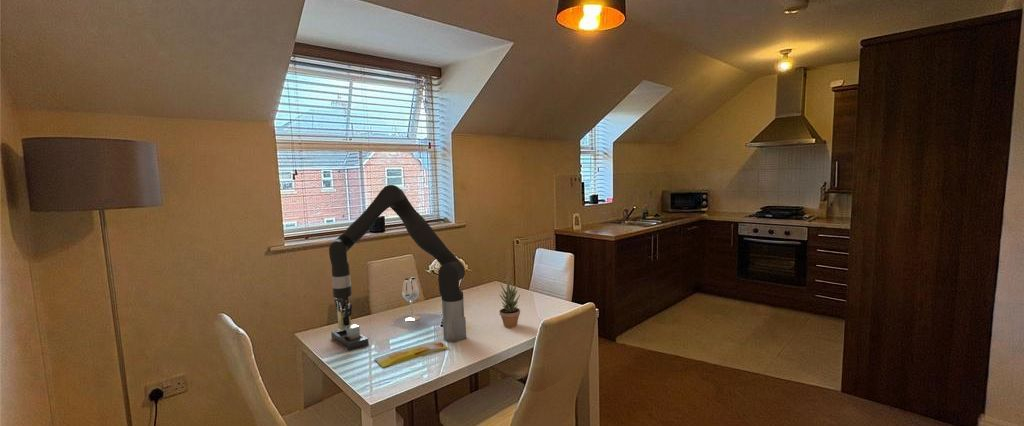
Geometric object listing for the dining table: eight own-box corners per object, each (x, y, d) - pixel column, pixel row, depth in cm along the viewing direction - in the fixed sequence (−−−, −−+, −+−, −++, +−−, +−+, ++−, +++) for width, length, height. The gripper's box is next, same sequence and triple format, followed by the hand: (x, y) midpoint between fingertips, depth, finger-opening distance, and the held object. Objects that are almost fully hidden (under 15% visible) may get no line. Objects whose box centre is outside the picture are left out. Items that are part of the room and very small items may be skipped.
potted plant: (504, 321, 204) (502, 270, 202) (523, 323, 201) (521, 271, 198) (496, 328, 195) (494, 275, 192) (516, 330, 191) (514, 276, 189)
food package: (382, 364, 158) (373, 355, 166) (382, 370, 158) (374, 361, 166) (449, 344, 174) (438, 337, 182) (449, 350, 174) (438, 343, 182)
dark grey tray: (368, 345, 180) (368, 338, 180) (349, 351, 175) (349, 344, 175) (349, 333, 195) (349, 326, 195) (331, 338, 190) (331, 331, 190)
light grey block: (360, 344, 182) (359, 326, 181) (351, 347, 179) (349, 328, 178) (356, 342, 185) (355, 323, 184) (347, 344, 182) (346, 326, 181)
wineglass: (418, 321, 208) (415, 280, 206) (402, 321, 208) (399, 281, 206) (421, 315, 216) (419, 276, 214) (406, 316, 216) (404, 277, 214)
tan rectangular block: (351, 327, 188) (349, 309, 187) (342, 330, 185) (340, 312, 184) (347, 325, 191) (346, 307, 190) (338, 327, 188) (337, 310, 187)
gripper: (357, 286, 183) (359, 325, 185) (344, 281, 194) (346, 318, 196) (339, 290, 178) (342, 330, 180) (327, 284, 189) (329, 322, 191)
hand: (344, 323), depth 188 cm, fingers closed on tan rectangular block, 4 cm apart
